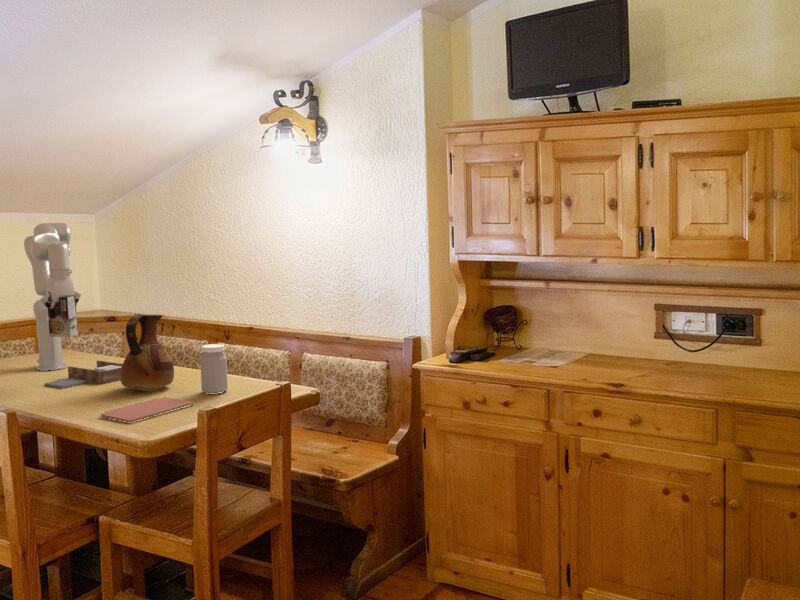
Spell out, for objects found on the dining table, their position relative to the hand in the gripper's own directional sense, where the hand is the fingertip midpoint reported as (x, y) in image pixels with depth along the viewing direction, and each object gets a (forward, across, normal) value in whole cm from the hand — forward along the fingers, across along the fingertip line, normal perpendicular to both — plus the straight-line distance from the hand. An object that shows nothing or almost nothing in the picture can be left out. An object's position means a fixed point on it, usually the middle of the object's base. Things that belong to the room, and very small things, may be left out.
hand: (62, 316), depth 302 cm
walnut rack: (+28, -15, +1) cm, 32 cm away
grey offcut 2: (+28, -15, +10) cm, 33 cm away
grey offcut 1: (+28, -15, +5) cm, 32 cm away
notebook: (+28, +13, +64) cm, 71 cm away
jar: (+28, -19, +64) cm, 72 cm away
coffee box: (+8, 0, 0) cm, 8 cm away
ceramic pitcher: (+28, -10, +37) cm, 48 cm away
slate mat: (+28, 0, 0) cm, 28 cm away
